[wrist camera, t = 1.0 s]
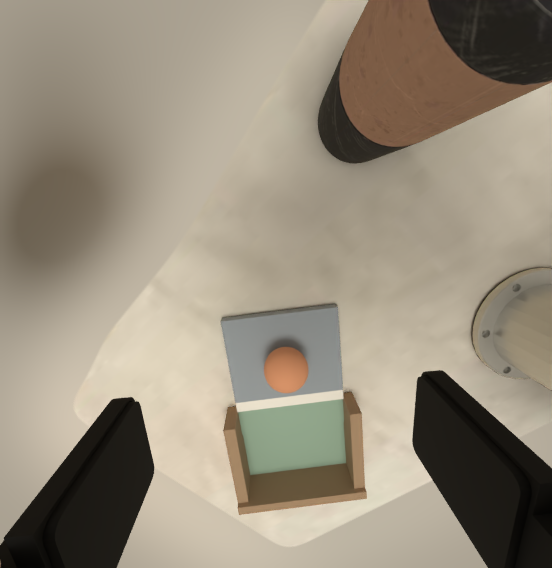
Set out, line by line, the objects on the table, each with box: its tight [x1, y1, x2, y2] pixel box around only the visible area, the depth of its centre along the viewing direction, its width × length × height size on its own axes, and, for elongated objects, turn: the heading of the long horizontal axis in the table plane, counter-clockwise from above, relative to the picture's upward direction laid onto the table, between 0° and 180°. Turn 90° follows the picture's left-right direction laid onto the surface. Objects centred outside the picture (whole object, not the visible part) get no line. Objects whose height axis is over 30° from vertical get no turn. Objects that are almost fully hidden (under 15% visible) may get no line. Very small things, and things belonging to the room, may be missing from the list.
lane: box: [221, 304, 367, 515], centre depth 30 cm, size 14×22×4 cm, turn 7°
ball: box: [264, 347, 309, 393], centre depth 28 cm, size 4×4×4 cm
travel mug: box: [318, 0, 552, 163], centre depth 15 cm, size 8×8×20 cm
